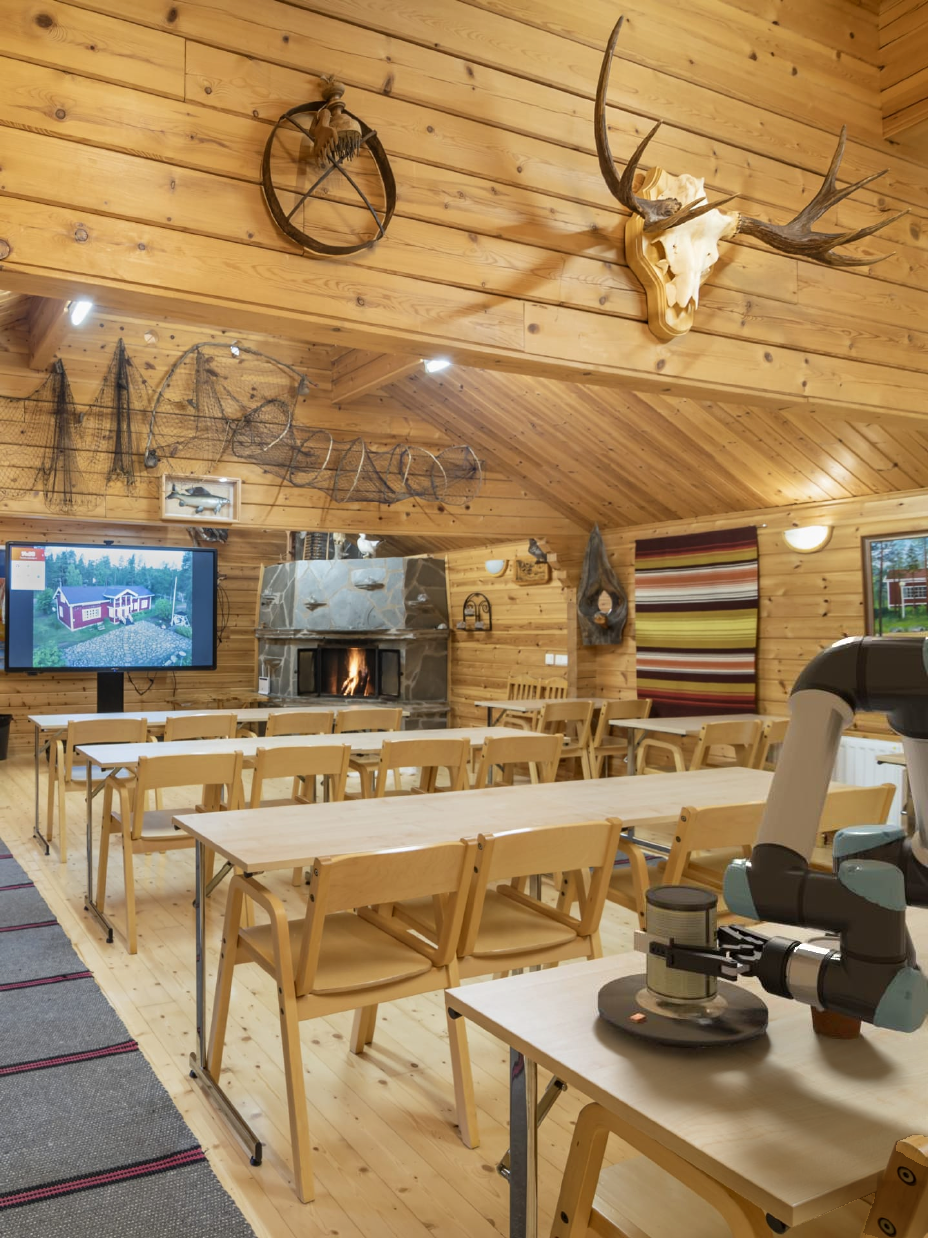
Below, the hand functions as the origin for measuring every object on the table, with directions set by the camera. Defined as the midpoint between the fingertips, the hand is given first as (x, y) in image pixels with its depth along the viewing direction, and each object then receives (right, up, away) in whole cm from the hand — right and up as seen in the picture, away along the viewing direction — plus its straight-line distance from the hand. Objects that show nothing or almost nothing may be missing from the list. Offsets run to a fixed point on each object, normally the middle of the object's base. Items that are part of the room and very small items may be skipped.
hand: (656, 932), depth 139 cm
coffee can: (+3, -8, -3) cm, 9 cm away
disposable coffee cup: (+25, -13, -5) cm, 28 cm away
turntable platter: (+3, -10, -3) cm, 11 cm away
